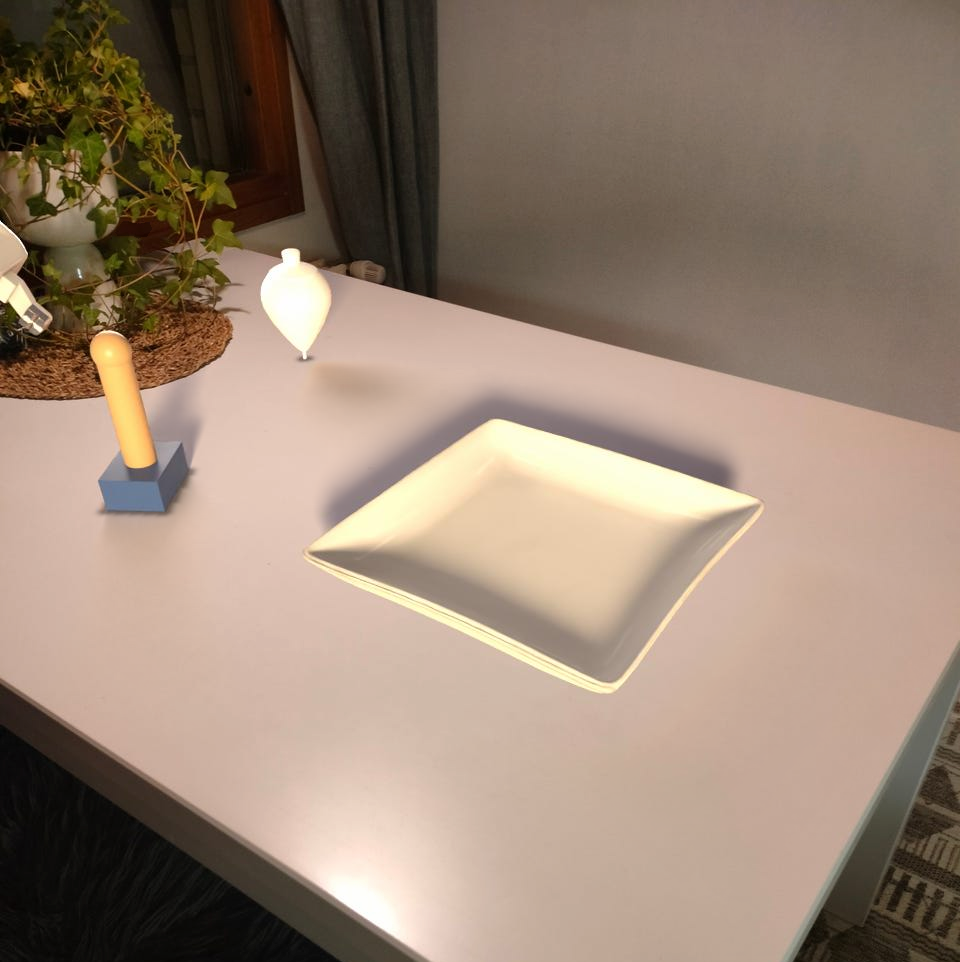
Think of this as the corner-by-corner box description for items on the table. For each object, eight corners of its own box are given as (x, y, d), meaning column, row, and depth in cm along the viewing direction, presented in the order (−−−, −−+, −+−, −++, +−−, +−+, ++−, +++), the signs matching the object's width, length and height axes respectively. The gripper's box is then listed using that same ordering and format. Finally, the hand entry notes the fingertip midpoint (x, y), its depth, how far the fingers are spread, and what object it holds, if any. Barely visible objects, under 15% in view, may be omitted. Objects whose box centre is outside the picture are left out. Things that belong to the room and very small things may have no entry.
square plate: (300, 590, 71) (293, 548, 69) (494, 448, 89) (494, 411, 86) (608, 729, 60) (613, 685, 57) (762, 534, 77) (771, 494, 74)
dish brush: (106, 510, 80) (56, 349, 71) (134, 469, 86) (90, 315, 77) (165, 511, 80) (122, 350, 71) (189, 470, 86) (152, 315, 76)
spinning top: (342, 369, 103) (330, 258, 95) (273, 376, 102) (255, 265, 94) (334, 342, 109) (322, 236, 101) (269, 349, 107) (252, 242, 99)
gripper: (-234, 230, 58) (-31, 380, 64) (-62, 152, 74) (90, 278, 79) (-263, 299, 61) (-66, 436, 67) (-92, 210, 77) (56, 327, 83)
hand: (19, 350), depth 73 cm, fingers open, 8 cm apart
